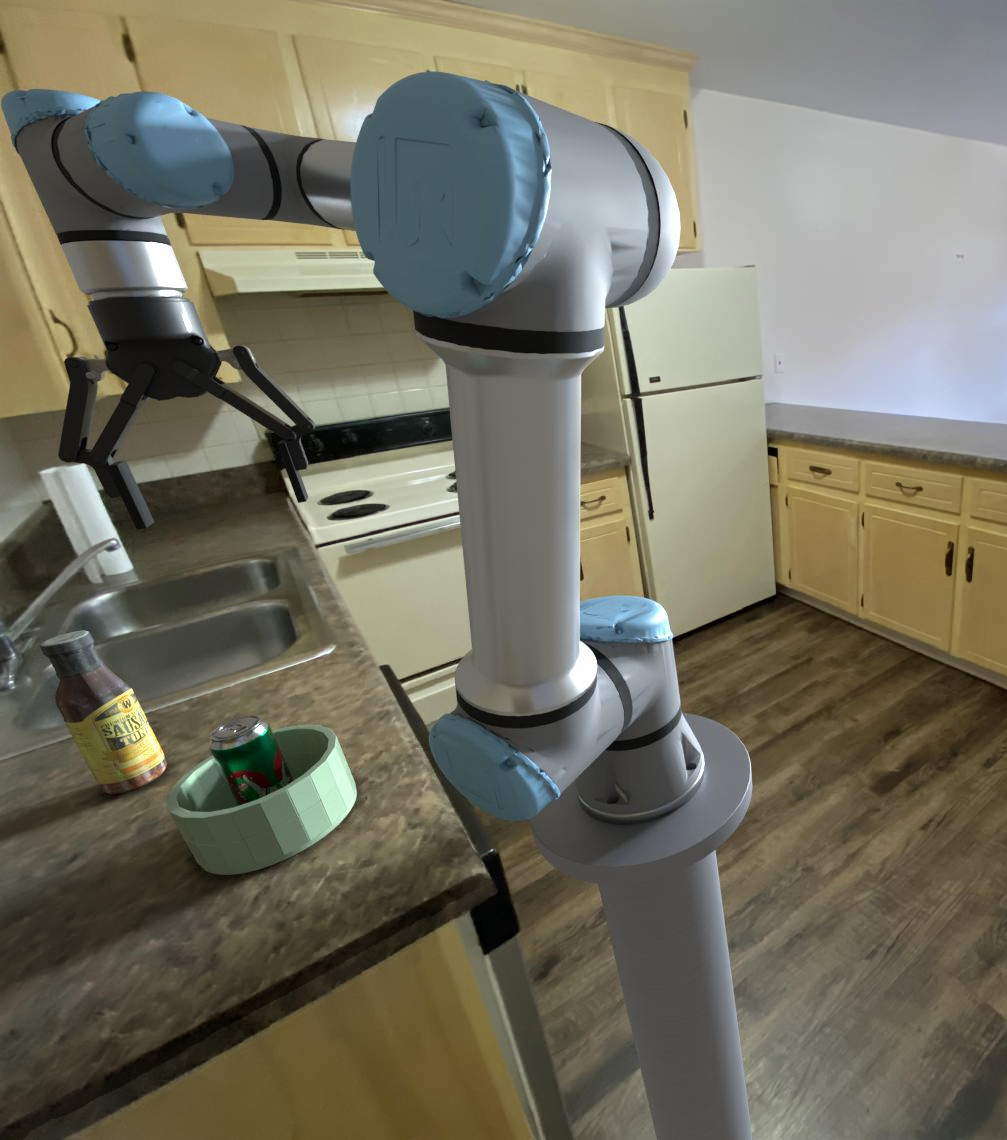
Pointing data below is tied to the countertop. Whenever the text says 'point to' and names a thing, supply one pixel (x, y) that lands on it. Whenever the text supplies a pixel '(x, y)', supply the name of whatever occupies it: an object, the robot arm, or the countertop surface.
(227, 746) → the soda can
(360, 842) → the countertop surface
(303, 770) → the bowl
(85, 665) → the sauce bottle
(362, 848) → the countertop surface
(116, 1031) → the countertop surface
